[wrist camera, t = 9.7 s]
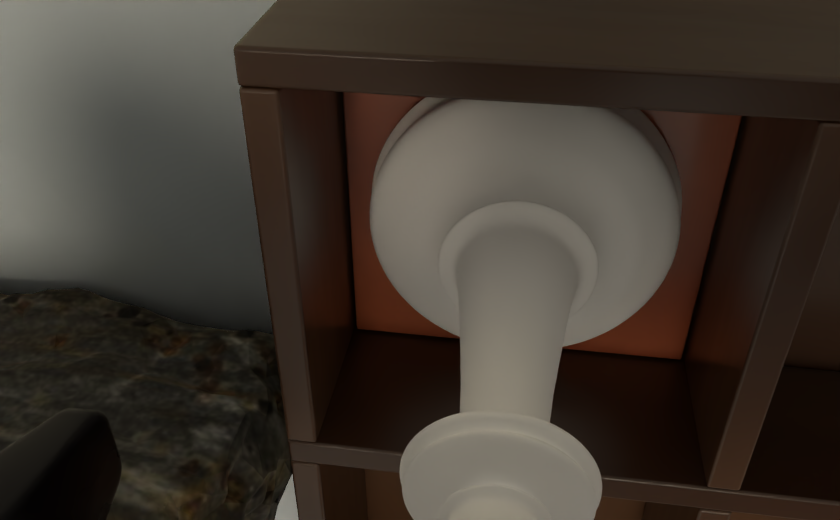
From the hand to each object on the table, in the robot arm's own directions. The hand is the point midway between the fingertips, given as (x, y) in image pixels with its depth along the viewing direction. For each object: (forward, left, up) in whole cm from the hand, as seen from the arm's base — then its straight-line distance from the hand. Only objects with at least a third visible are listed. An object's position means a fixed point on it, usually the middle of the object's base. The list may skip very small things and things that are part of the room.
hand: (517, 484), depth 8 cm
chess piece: (0, 0, -6) cm, 6 cm away
